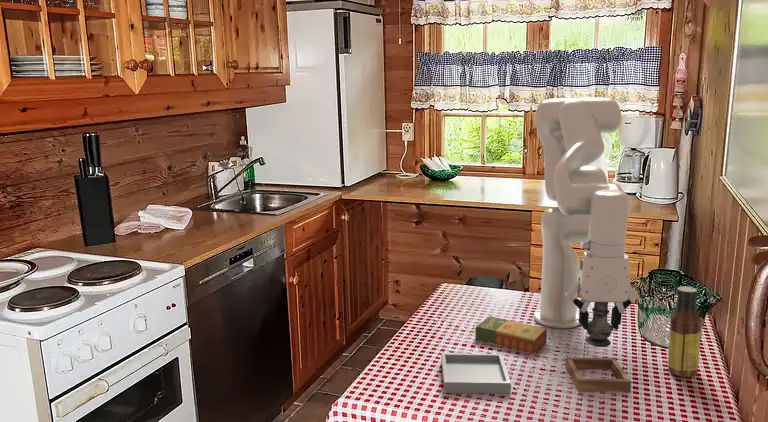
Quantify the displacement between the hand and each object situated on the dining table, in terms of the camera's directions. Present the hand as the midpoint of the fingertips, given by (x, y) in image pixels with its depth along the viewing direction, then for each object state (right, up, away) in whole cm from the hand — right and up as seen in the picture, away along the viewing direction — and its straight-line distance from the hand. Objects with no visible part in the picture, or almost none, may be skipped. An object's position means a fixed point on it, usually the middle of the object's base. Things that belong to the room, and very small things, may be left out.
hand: (599, 326), depth 136 cm
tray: (-27, -12, +3) cm, 30 cm away
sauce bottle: (+20, -12, +5) cm, 24 cm away
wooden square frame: (0, -12, +2) cm, 12 cm away
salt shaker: (0, -4, +1) cm, 4 cm away
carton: (-15, -8, +22) cm, 28 cm away
